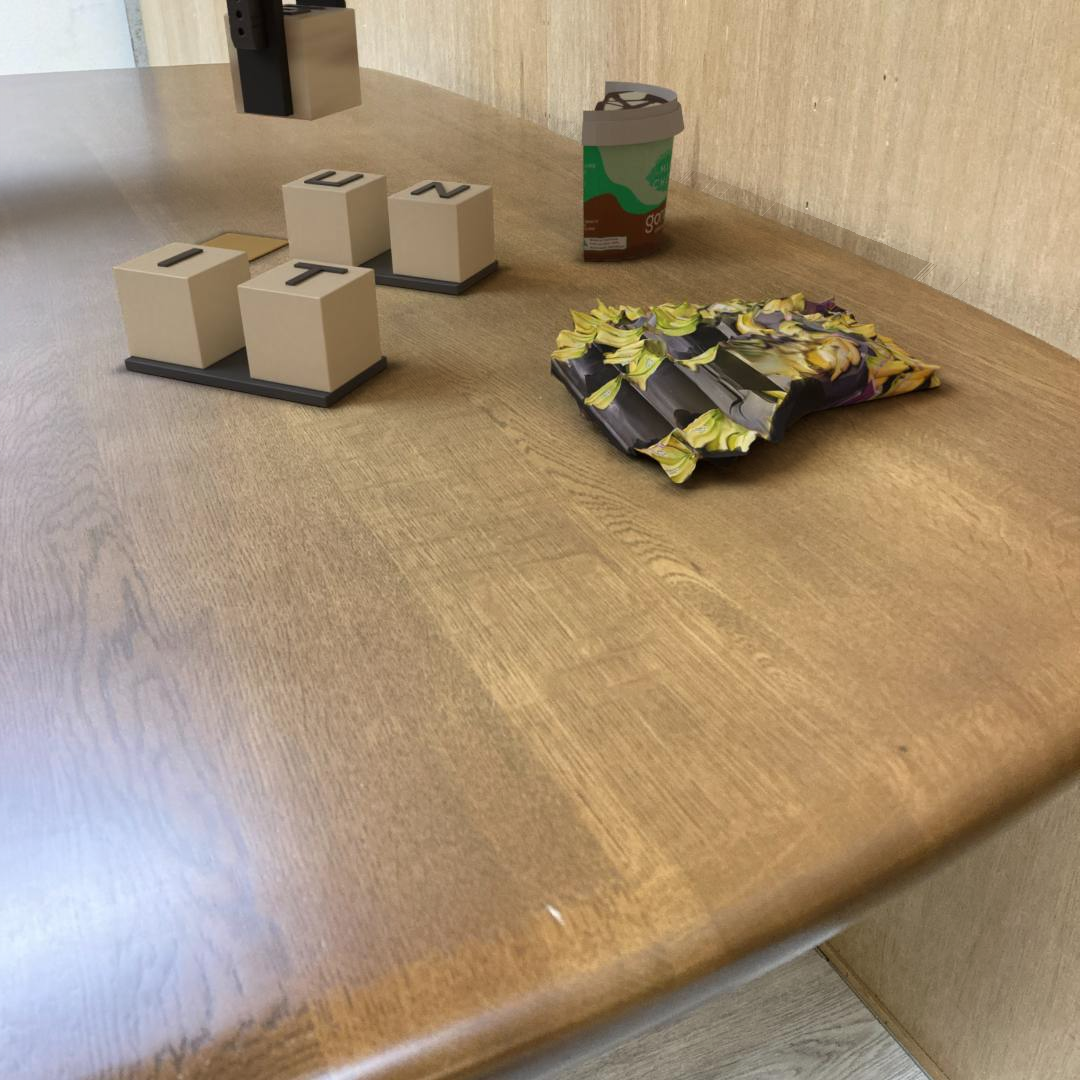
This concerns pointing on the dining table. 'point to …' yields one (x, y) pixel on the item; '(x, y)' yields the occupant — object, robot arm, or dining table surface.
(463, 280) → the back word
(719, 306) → the banana patterned fabric
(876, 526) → the dining table surface
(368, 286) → the front word
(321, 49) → the tile
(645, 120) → the food container
